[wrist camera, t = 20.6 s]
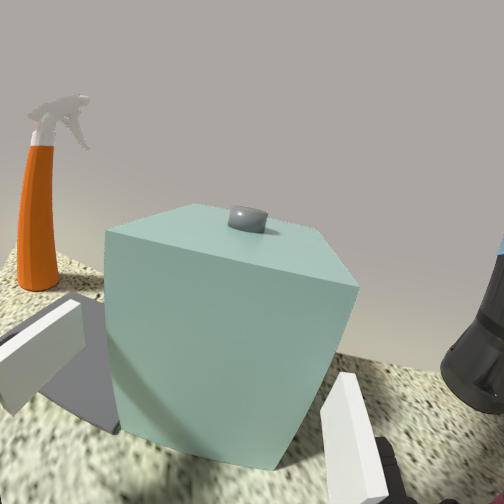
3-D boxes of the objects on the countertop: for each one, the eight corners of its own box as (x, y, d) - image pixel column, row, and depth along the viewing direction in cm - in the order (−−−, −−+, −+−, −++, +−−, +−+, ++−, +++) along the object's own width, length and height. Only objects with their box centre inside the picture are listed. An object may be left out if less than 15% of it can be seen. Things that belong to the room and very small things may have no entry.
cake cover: (278, 360, 28) (319, 216, 24) (273, 470, 14) (368, 259, 10) (179, 336, 28) (198, 190, 24) (121, 429, 15) (107, 203, 11)
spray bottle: (86, 285, 33) (107, 93, 26) (18, 294, 25) (32, 84, 18) (75, 267, 38) (93, 101, 31) (17, 273, 29) (30, 95, 22)
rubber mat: (178, 331, 29) (179, 328, 29) (112, 434, 14) (111, 431, 14) (72, 293, 30) (71, 290, 30) (-13, 350, 15) (-14, 347, 15)
